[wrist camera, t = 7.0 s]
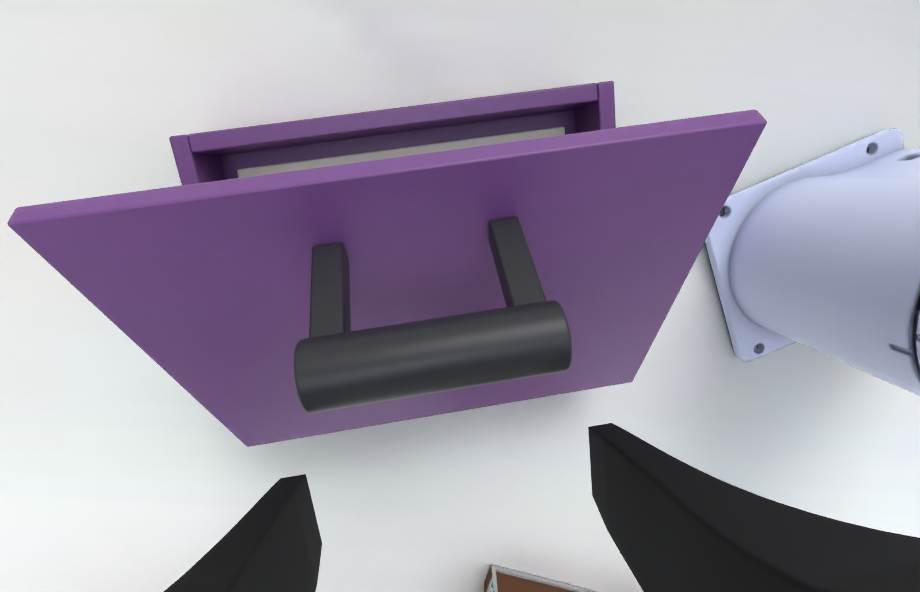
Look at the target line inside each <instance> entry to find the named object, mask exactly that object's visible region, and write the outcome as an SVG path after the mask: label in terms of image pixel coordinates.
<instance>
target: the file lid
mask: <svg viewBox="0 0 920 592" xmlns="http://www.w3.org/2000/svg"><path fill="white" fill-rule="evenodd" d="M766 123H767V121H766V120H765V119H764V118H763V116H762V115H761V114H760V113H759V112H758V111H757V110H748V111H740V112H733V113H725V114H718V115H710V116H703V117H695V118H688V119H680V120H673V121H665V122H658V123H650V124H642V125H635V126H627V127H620V128H612V129H605V130H597V131H590V132H582V133H575V134H567V135H560V136H552V137H545V138H537V139H530V140H522V141H514V142H507V143H499V144H492V145H484V146H477V147H469V148H462V149H454V150H447V151H439V152H432V153H424V154H417V155H409V156H401V157H394V158H386V159H379V160H371V161H364V162H356V163H349V164H341V165H334V166H326V167H319V168H311V169H304V170H296V171H288V172H281V173H273V174H266V175H258V176H251V177H243V178H236V179H228V180H221V181H213V182H206V183H198V184H191V185H183V186H175V187H168V188H160V189H153V190H145V191H138V192H130V193H123V194H115V195H108V196H100V197H93V198H85V199H78V200H70V201H63V202H55V203H47V204H40V205H32V206H25V207H18V208H17V209H15V211H14V213H13V214H12V216H11V218H10V219H9V221H8V226H9V227H10V228H11V229H13V230H14V231H15V232H16V233H17V234H18V235H19V236H20V237H21V238H22V239H23V240H24V241H26V242H27V243H28V244H29V245H30V246H31V247H32V248H33V249H34V250H35V251H36V252H37V253H38V254H40V255H41V256H42V257H43V258H44V259H45V260H46V261H47V262H48V263H49V264H50V265H51V266H53V267H54V268H55V269H56V270H57V271H58V272H59V273H60V274H61V275H62V276H63V277H64V278H66V279H67V280H68V281H69V282H70V283H71V284H72V285H73V286H74V287H75V288H76V289H77V290H78V291H80V292H81V293H82V294H83V295H84V296H85V297H86V298H87V299H88V300H89V301H90V302H91V303H93V304H94V305H95V306H96V307H97V308H98V309H99V310H100V311H101V312H102V313H103V314H104V315H106V316H107V317H108V318H109V319H110V320H111V321H112V322H113V323H114V324H115V325H116V326H117V327H118V328H120V329H121V330H122V331H123V332H124V333H125V334H126V335H127V336H128V337H129V338H130V339H131V340H133V341H134V342H135V343H136V344H137V345H138V346H139V347H140V348H141V349H142V350H143V351H144V352H145V353H147V354H148V355H149V356H150V357H151V358H152V359H153V360H154V361H155V362H156V363H157V364H158V365H160V366H161V367H162V368H163V369H164V370H165V371H166V372H167V373H168V374H169V375H170V376H171V377H173V378H174V379H175V380H176V381H177V382H178V383H179V384H180V385H181V386H182V387H183V388H184V389H185V390H187V391H188V392H189V393H190V394H191V395H192V396H193V397H194V398H195V399H196V400H197V401H198V402H200V403H201V404H202V405H203V406H204V407H205V408H206V409H207V410H208V411H209V412H210V413H211V414H213V415H214V416H215V417H216V418H217V419H218V420H219V421H220V422H221V423H222V424H223V425H224V426H225V427H227V428H228V429H229V430H230V431H231V432H232V433H233V434H234V435H235V436H236V437H237V438H238V439H240V440H241V441H242V442H243V443H244V444H245V445H246V446H248V447H249V446H255V445H261V444H267V443H273V442H279V441H285V440H291V439H296V438H302V437H308V436H314V435H320V434H326V433H332V432H338V431H344V430H350V429H356V428H362V427H367V426H373V425H379V424H385V423H391V422H397V421H403V420H409V419H415V418H421V417H427V416H433V415H439V414H444V413H450V412H456V411H462V410H468V409H474V408H480V407H486V406H492V405H498V404H504V403H510V402H515V401H521V400H527V399H533V398H539V397H545V396H551V395H557V394H563V393H569V392H575V391H581V390H587V389H592V388H598V387H604V386H610V385H616V384H622V383H628V382H632V381H633V379H634V377H635V375H636V373H637V371H638V370H639V368H640V366H641V364H642V362H643V360H644V358H645V356H646V354H647V352H648V350H649V348H650V346H651V345H652V343H653V341H654V339H655V337H656V335H657V333H658V331H659V329H660V327H661V325H662V323H663V321H664V320H665V318H666V316H667V314H668V312H669V310H670V308H671V306H672V304H673V302H674V300H675V298H676V296H677V295H678V293H679V291H680V289H681V287H682V285H683V283H684V281H685V279H686V277H687V275H688V273H689V271H690V270H691V268H692V266H693V264H694V262H695V260H696V258H697V256H698V254H699V252H700V250H701V248H702V246H703V245H704V243H705V241H706V239H707V237H708V235H709V233H710V231H711V229H712V227H713V225H714V223H715V222H716V220H717V218H718V216H719V214H720V212H721V210H722V208H723V206H724V204H725V202H726V200H727V198H728V197H729V195H730V193H731V191H732V189H733V187H734V185H735V183H736V181H737V179H738V177H739V175H740V173H741V172H742V170H743V168H744V166H745V164H746V162H747V160H748V158H749V156H750V154H751V152H752V150H753V148H754V147H755V145H756V143H757V141H758V139H759V137H760V135H761V133H762V131H763V129H764V127H765V125H766Z"/></svg>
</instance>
